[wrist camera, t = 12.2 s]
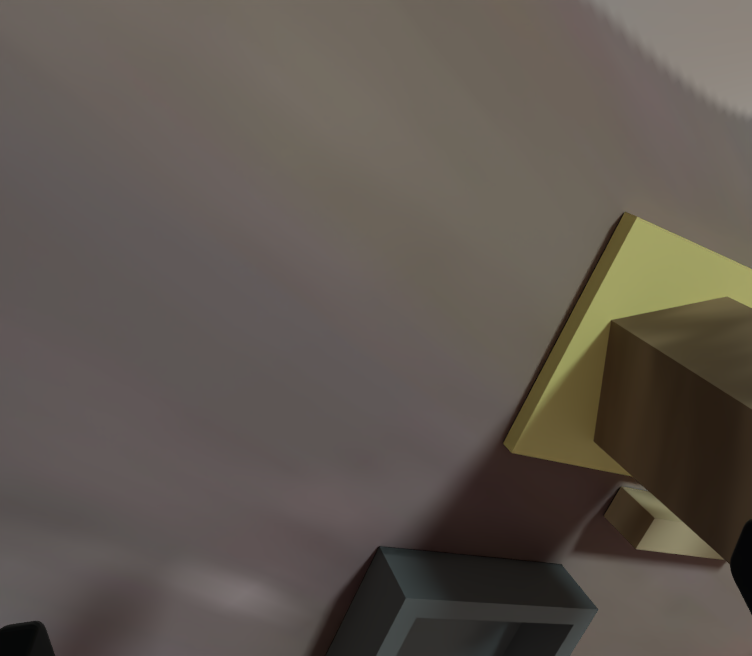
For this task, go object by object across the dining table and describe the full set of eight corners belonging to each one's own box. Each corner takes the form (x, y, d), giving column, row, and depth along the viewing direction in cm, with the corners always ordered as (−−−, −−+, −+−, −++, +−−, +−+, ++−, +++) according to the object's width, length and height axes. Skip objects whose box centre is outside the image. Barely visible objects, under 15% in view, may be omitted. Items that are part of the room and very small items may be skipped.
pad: (502, 443, 25) (511, 452, 24) (624, 211, 22) (637, 216, 22) (667, 476, 29) (677, 485, 28) (784, 284, 26) (798, 290, 26)
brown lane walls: (470, 739, 32) (491, 781, 30) (621, 486, 28) (654, 518, 26) (617, 731, 36) (643, 766, 35) (765, 512, 33) (801, 541, 31)
